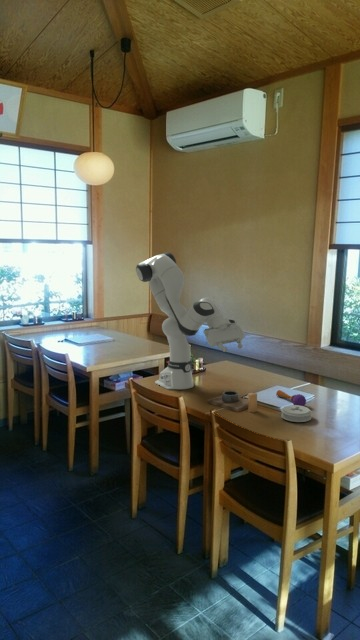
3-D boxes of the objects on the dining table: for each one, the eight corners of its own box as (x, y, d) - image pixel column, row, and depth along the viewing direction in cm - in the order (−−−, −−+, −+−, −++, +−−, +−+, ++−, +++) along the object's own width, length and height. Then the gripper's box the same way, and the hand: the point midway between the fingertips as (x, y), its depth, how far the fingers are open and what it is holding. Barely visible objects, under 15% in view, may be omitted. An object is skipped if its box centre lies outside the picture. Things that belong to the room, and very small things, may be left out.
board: (208, 402, 221) (208, 399, 221) (227, 396, 230) (227, 393, 230) (237, 412, 208) (237, 408, 208) (256, 404, 217) (256, 401, 217)
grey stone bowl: (219, 400, 220) (219, 393, 219) (229, 396, 225) (229, 389, 224) (231, 404, 214) (231, 396, 214) (241, 400, 219) (241, 393, 219)
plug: (246, 411, 209) (246, 393, 208) (251, 408, 212) (251, 392, 211) (253, 413, 206) (253, 395, 205) (258, 411, 209) (259, 393, 208)
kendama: (285, 387, 231) (309, 396, 212) (283, 399, 231) (307, 409, 212) (274, 387, 229) (298, 395, 210) (273, 398, 229) (296, 408, 210)
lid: (275, 418, 201) (275, 407, 200) (293, 411, 208) (294, 401, 207) (298, 426, 191) (298, 414, 190) (317, 419, 198) (317, 408, 197)
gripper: (204, 325, 213) (219, 348, 206) (237, 319, 224) (252, 341, 218) (199, 333, 217) (213, 357, 210) (232, 327, 228) (246, 349, 222)
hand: (233, 349), depth 214 cm, fingers open, 8 cm apart
